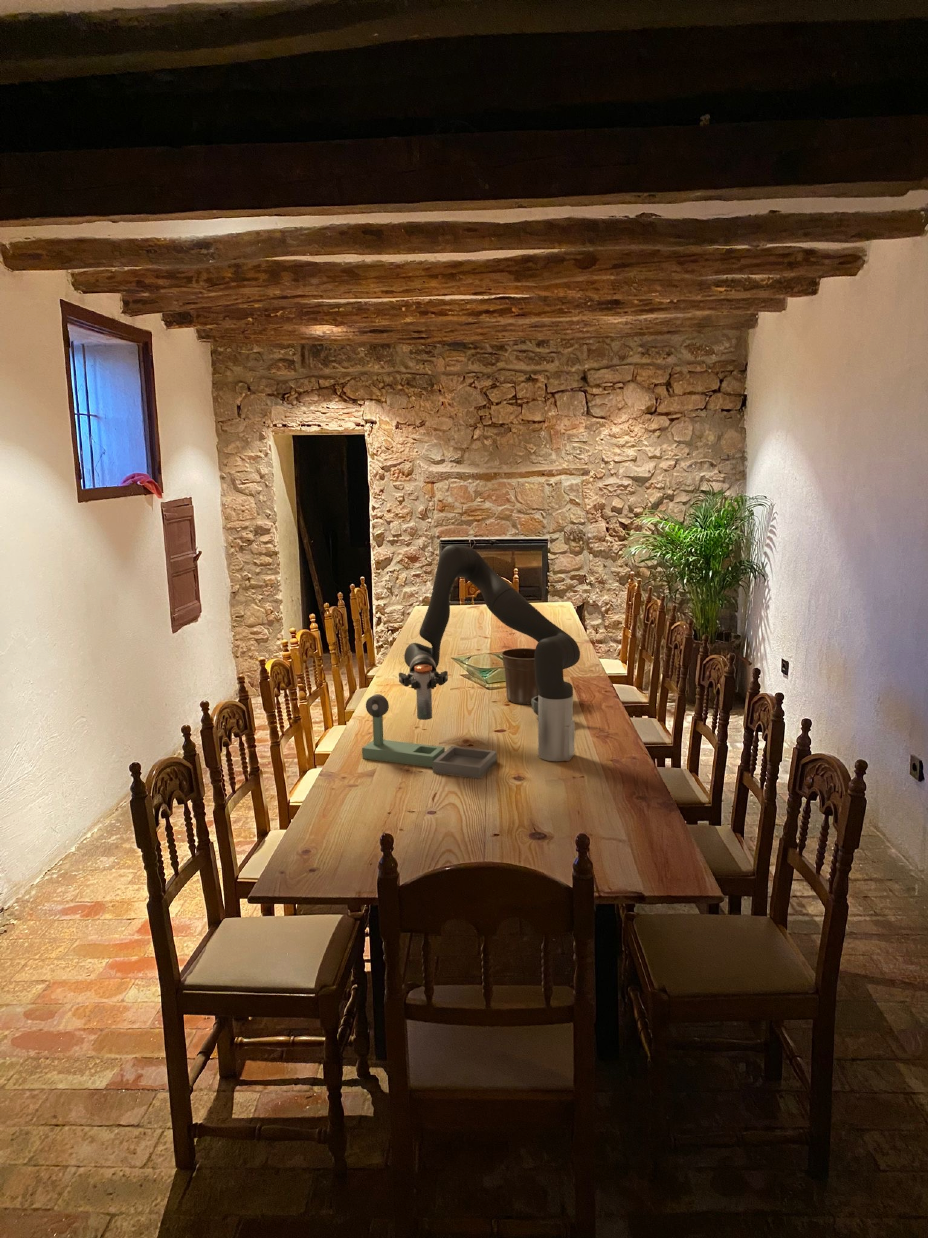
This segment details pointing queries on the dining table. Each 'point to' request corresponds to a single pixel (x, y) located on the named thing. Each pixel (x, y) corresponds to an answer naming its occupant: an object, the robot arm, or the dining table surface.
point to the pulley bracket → (395, 749)
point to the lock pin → (423, 691)
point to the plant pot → (520, 675)
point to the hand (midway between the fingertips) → (423, 685)
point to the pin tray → (465, 762)
